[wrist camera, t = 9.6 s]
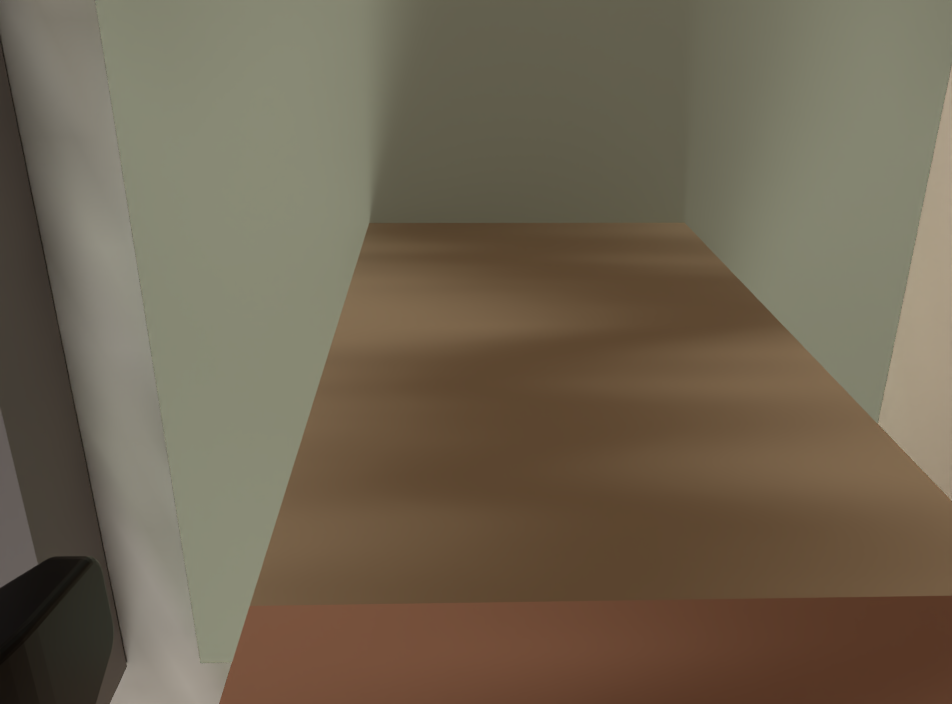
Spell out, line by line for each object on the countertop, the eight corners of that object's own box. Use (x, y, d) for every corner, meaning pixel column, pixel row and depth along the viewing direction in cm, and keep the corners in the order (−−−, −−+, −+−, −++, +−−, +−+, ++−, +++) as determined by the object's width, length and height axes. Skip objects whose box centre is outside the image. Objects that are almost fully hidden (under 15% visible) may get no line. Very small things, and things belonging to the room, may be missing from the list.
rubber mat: (951, -34, 11) (972, -35, 11) (819, 630, 16) (830, 649, 15) (104, -34, 11) (89, -35, 11) (207, 642, 16) (201, 662, 15)
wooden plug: (684, 222, 12) (1175, 735, 4) (656, 492, 14) (960, 1237, 6) (368, 223, 12) (203, 756, 4) (380, 494, 14) (283, 1262, 6)
